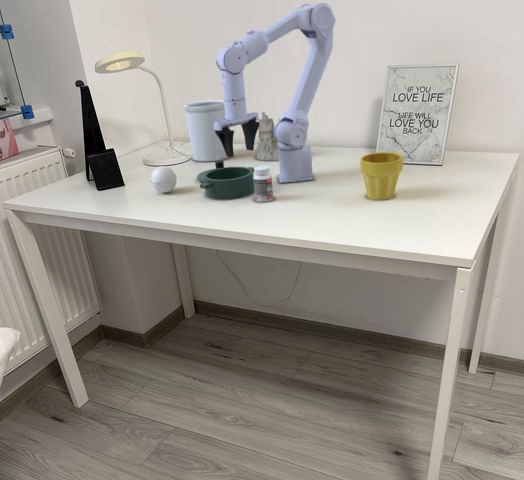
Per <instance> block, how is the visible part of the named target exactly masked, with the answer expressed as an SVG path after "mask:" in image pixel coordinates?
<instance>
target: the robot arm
mask: <svg viewBox="0 0 524 480" xmlns="http://www.w3.org/2000/svg"><path fill="white" fill-rule="evenodd" d="M331 7H332V6H330V5H329V4H328V3H326V2H319V3H312V4H310V3H304V4H302V5H301V6H299V7H297V8H294V9H293V10H291V11H289V12H287V14H285V15H284V16H282V17H281V18H280V19H278V20H277V21H276V22H274V23H273V24H271V25H269V26H268V27H267V28H265V29H264V30H259V29H249V30H247V31H246V34H245V35H244V36H243V37H241V38H240V39H238V40H233V41H231V46H225V47H222V48H221V49H220V50H219V51H218V53H217V57H216V60H215V64H216V67H217V68H218V70H219V71H220V78H221V88H222V95H223V96H222V97H223V100H224V106H225V115H226V117H225V118H224V119H222V120H220V121H217V122H214V129H215V133H216V135H217V136H218V138H219V139H220V141H221V143H222V145H223V147H224V150H225V153H226V156H228V157H229V158H233V157H234V135H235V130H231V128H232V127H236V126H239V125H240V126H241V129H242V131H243V136H244V144H245V149H246V151H254V148H255V141H256V135H257V133H258V131H259V129H258V128H259V126H260V124H259V119H260V118H259V116H260V115H259V112H255V111H253V112H247V111H248V109H247V98H246V89H245V78H244V70H245V68H246V66H247V65H249V64H250V63H252V62H254V61H255V60H257V59H258V58H259V57H261V56H263V55H264V54H266V53H267V52H268V49H269V45H270V44H272V43H274V42H275V41H277V40H279V39H280V38H282V37H284V36H286V35H288V34H290V33H291V32H293V31H295V30H299V31H300V32H301V33H302V34H303V35H304V37H305V38H306V40H307V42H308V45H309V48H310V50H309V53H308V56H307V58H306V61H305V64H304V66H303V69H302V72H301V74H300V77H299V80H298V83H297V85H296V87H295V91H294V94H293V95H292V99H291V102H290V104H289V107H288V108H287V109H286V110H285V111H284V112H283V113H282V115H281V117H280V118H281V119H280V121H279V120H278V122H276V124H275V125H274V127H275V128H274V137H275V139H276V140H277V141H278V151H279V161H278V165H279V173H278V174H277V178H278V182H279V183H280V184H285V183H295V182H305V181H306V182H307V181H313V180H314V179H313V178H314V177H313V155H312V148H311V145H305V144H306V142H307V140H308V129H309V126H310V121H309V118H308V114H309V111H310V109H311V106H312V104H313V101H314V99H315V96H316V94H317V91H318V88H319V85H320V82H321V80H322V77H323V75H324V72H325V69H326V67H327V64H328V63H329V62H328V61H329V59H330V56H331V54H332V52H333V48H334V27H335V24H336V21H337V20H336V17H335V15H334V11H333V9H332V8H331ZM229 127H230V129H229Z"/></svg>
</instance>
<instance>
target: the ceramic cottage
mask: <svg viewBox="0 0 524 480" xmlns="http://www.w3.org/2000/svg"><path fill="white" fill-rule="evenodd" d="M280 119H281V117H279V118H278V122H279V121H280ZM258 122H259V124H260V126H259V128H258V136H257V137H258V142H257V146H256V147H257V148H256V156H255V157H256V159H257V160H259V161H270V162H271V161H275V162H277V161H278V162H279V151H278V141H277V140H276V139H275V137H274V128H275V123H274V119H273V118H272V117H271V118H269V116H268V115H267V114H266V112H265V111H261V119H260V118H259V120H258Z"/></svg>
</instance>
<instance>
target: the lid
mask: <svg viewBox="0 0 524 480" xmlns="http://www.w3.org/2000/svg"><path fill="white" fill-rule="evenodd" d="M214 165H215V166H214V167H215V168H211V169H207V170H204V171H201V172H200V173H198V174H197V175H196V180H197V181H199V182H203V183H204V177H203V175H204V174H205V173H207V172H209V171H211V170H214V169H219V168H225V162H224V159H222V160H217V161H214Z"/></svg>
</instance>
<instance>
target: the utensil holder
mask: <svg viewBox="0 0 524 480" xmlns="http://www.w3.org/2000/svg"><path fill="white" fill-rule="evenodd" d="M183 110H184V112H185V116H186V123H187V130H188V136H189V144H190V148H191V154H192V159H193V160H194V161H196V162H215V161H218V160H226V159H229V158H230V157H228V156H226V153H225V150H224V147H223V145H222V143H221V141H220V139H219V138H218V136H217V135H216V133H215V129H214V122H217V121H220V120H222V119H224V118H225V117H226V115H225V106H224V99H205V100H198V101H191V102H187V103H185V104H184V105H183ZM229 129H230V130H231V127H229Z"/></svg>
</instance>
